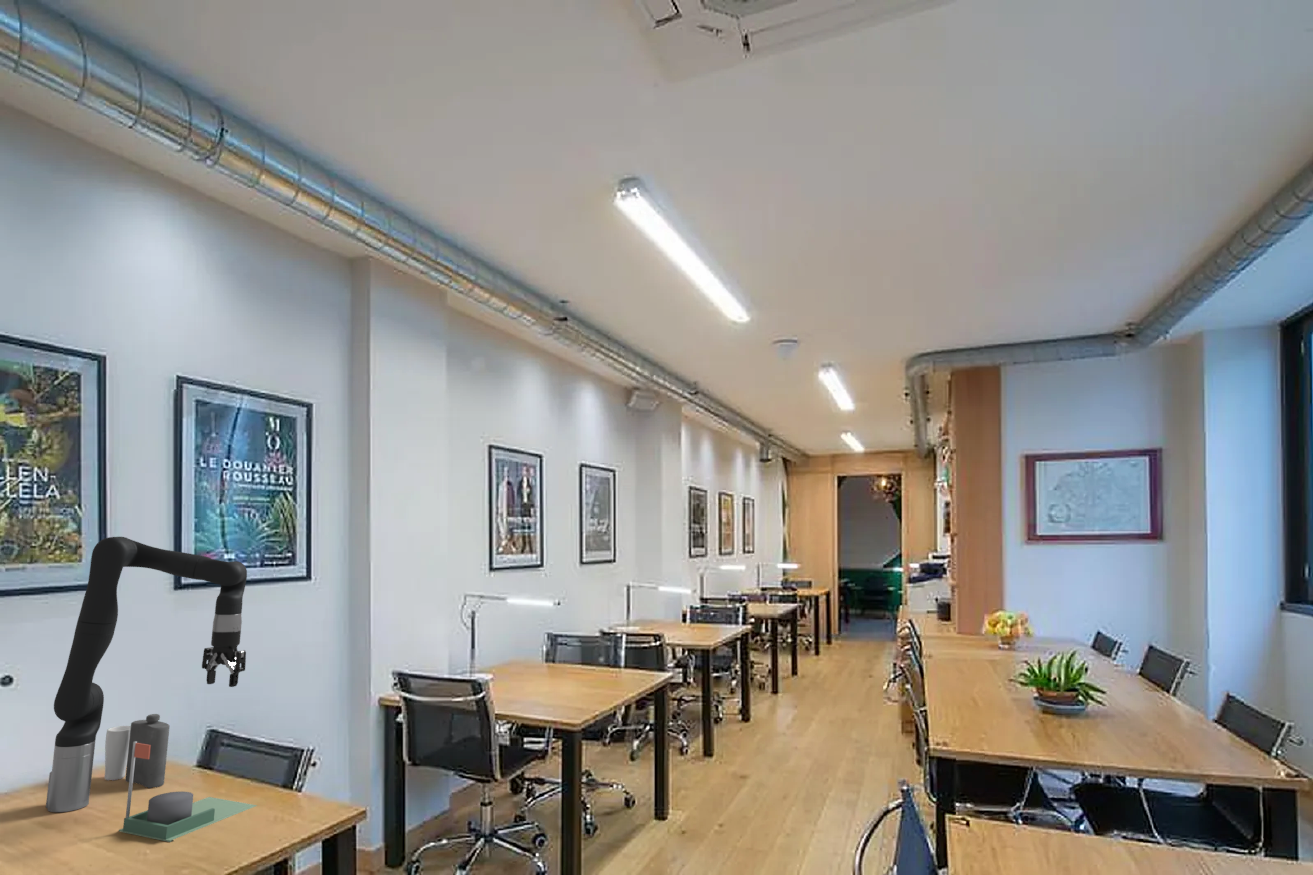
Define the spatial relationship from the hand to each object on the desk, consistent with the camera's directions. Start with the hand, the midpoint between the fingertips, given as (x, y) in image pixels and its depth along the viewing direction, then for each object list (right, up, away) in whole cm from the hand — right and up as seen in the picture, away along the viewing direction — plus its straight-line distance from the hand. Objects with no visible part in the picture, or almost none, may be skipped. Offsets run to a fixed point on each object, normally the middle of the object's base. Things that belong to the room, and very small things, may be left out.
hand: (221, 685), depth 229 cm
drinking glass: (-40, -33, +12) cm, 53 cm away
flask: (-28, -33, +9) cm, 44 cm away
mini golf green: (+2, -30, -19) cm, 36 cm away
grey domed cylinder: (0, -29, -25) cm, 38 cm away
